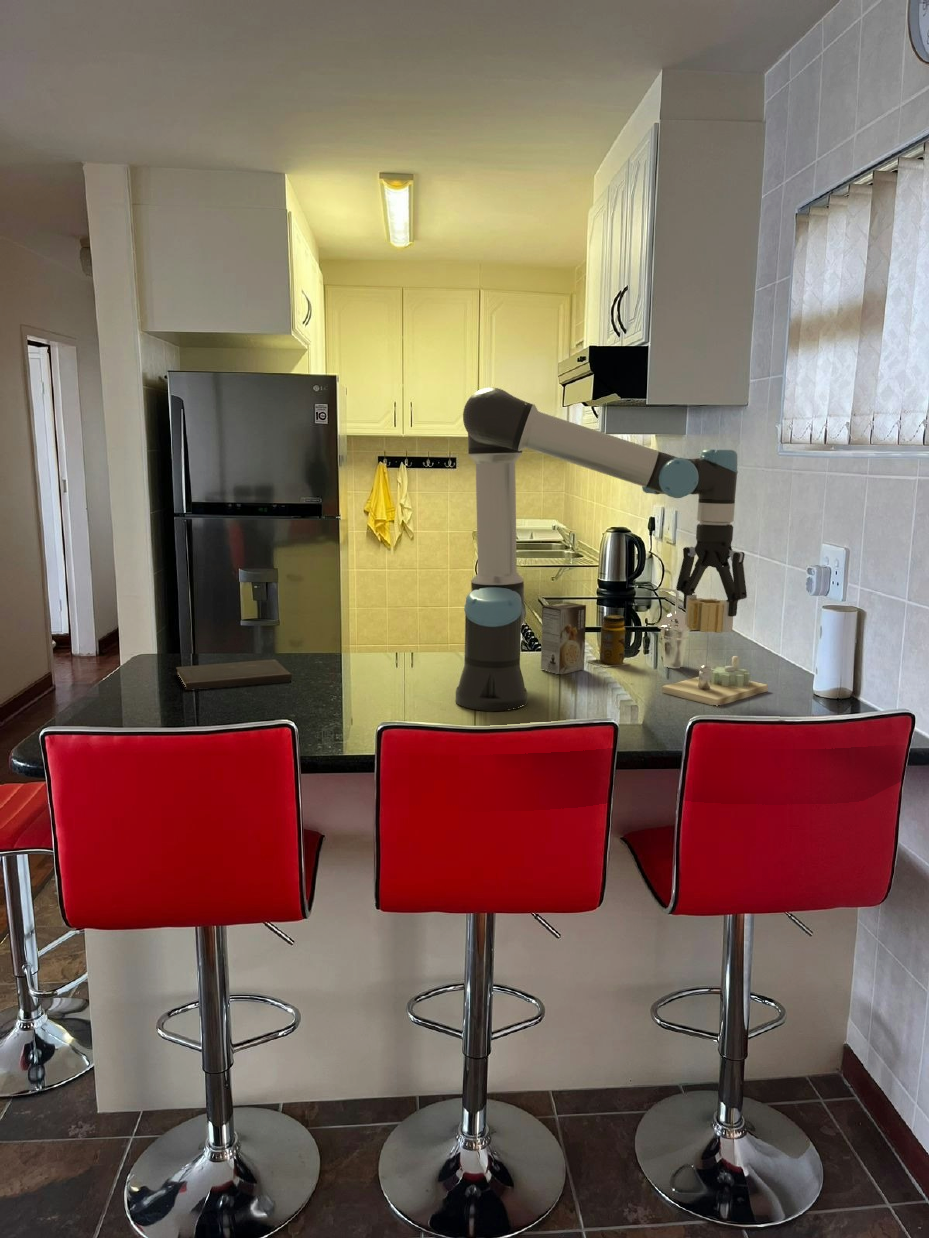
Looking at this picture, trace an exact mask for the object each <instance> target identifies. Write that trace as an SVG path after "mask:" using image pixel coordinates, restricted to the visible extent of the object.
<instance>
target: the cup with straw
mask: <svg viewBox="0 0 929 1238" xmlns="http://www.w3.org/2000/svg"><path fill="white" fill-rule="evenodd" d="M656 590H657V591H662V592H669V593H674V594H675V603H674V604H675V607H674V611H670V612H668V613H666V614H665V615H664V616H663V617H662V619H661V622H659V623H658V625H657V628H658V629H660V635H661V636H660V637H661V643H662V658H663V667H664V668H667V667H668V669H681V668H680V667H682V668H683V663H684V659H685V653H686V648H687V647H686V646H687V643H688V639H689V636H690V631H691V630H690V629H689V627H687V625H685V616H686V613H683V612H681V611H679V601H680V600H679V599H680V593H679V591H677V589H672V588H668V587H667V588H665V587H660V586H657V588H656Z"/></svg>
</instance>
